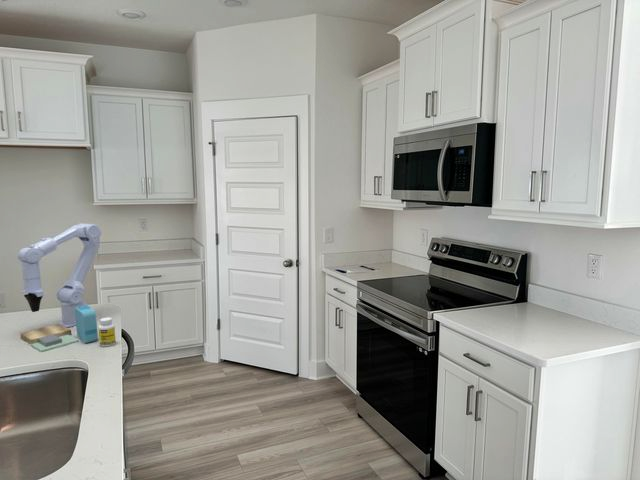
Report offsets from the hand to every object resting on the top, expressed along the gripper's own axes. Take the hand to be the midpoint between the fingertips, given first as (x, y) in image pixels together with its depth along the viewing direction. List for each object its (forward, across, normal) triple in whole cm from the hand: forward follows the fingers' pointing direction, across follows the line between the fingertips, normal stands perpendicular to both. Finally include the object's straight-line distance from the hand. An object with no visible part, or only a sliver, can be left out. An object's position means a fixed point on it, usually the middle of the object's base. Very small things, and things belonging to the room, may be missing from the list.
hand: (35, 311), depth 176 cm
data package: (+10, +22, +10) cm, 26 cm away
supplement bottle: (+10, +34, +12) cm, 37 cm away
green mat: (+9, +18, 0) cm, 20 cm away
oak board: (+9, +6, +1) cm, 11 cm away
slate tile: (+9, +16, -1) cm, 18 cm away
